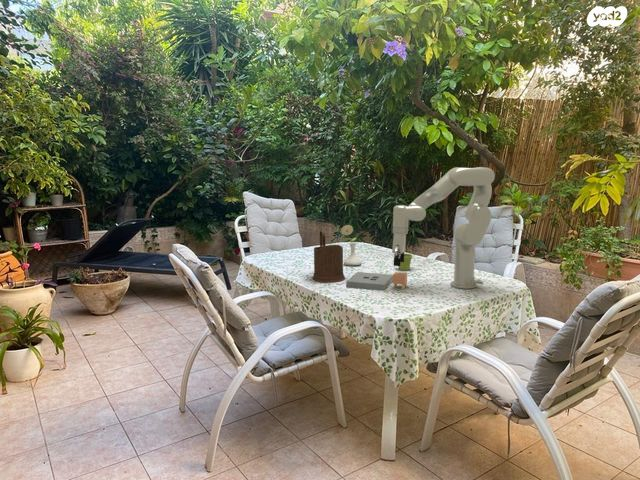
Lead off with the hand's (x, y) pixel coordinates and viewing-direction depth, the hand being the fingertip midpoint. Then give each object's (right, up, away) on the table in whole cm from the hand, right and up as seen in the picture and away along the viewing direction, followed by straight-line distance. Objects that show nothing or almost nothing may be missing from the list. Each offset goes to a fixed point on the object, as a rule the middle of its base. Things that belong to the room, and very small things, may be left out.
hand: (398, 263), depth 223 cm
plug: (+1, -12, +2) cm, 12 cm away
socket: (-13, -11, +10) cm, 20 cm away
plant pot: (+10, -6, +38) cm, 40 cm away
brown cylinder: (-36, -9, +24) cm, 44 cm away
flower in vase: (-20, -4, +52) cm, 56 cm away
